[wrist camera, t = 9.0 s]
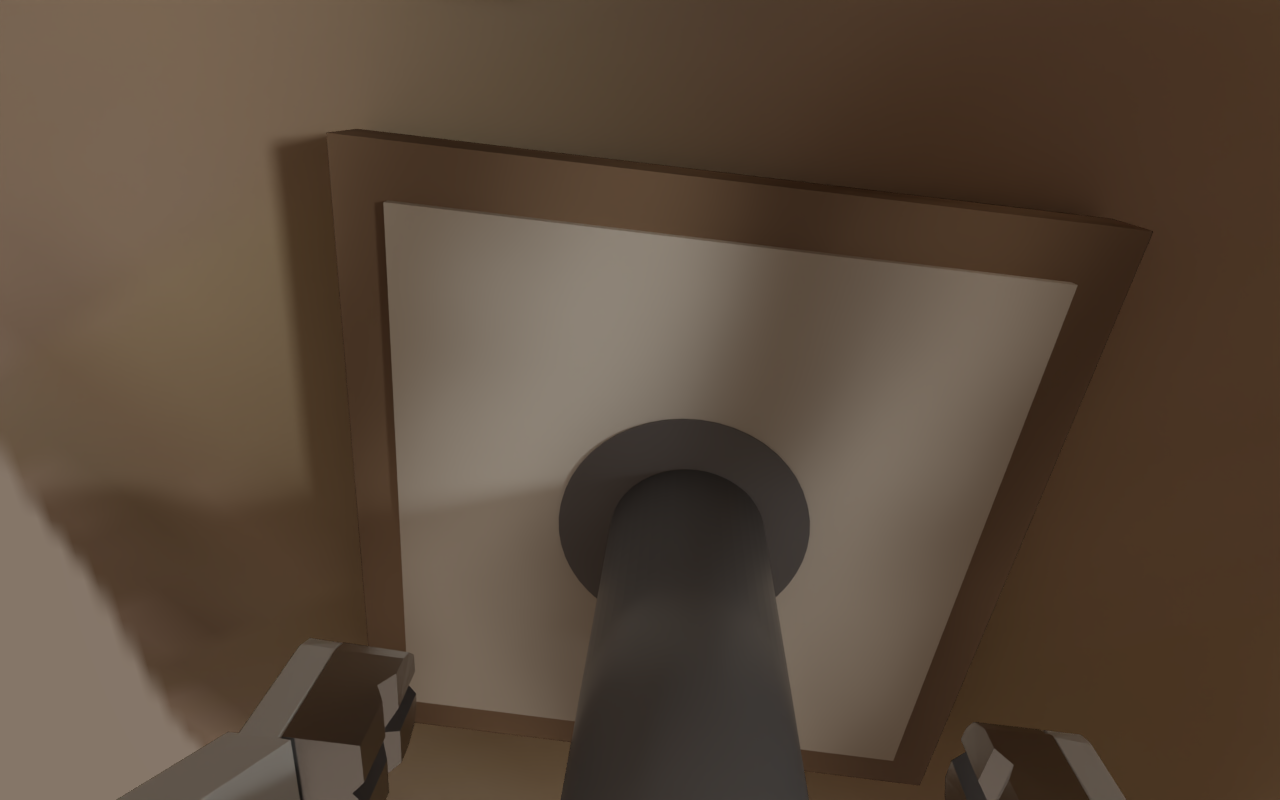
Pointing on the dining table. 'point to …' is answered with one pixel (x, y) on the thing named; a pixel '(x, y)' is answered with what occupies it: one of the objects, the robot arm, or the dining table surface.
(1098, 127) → the dining table surface
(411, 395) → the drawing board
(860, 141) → the dining table surface
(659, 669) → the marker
